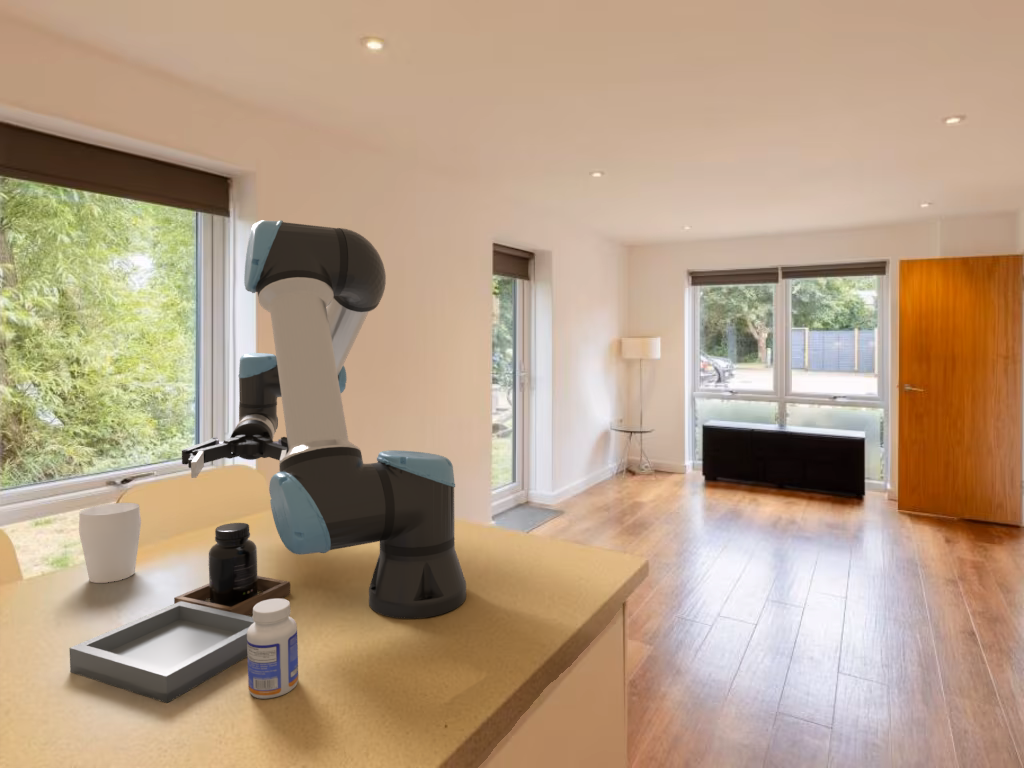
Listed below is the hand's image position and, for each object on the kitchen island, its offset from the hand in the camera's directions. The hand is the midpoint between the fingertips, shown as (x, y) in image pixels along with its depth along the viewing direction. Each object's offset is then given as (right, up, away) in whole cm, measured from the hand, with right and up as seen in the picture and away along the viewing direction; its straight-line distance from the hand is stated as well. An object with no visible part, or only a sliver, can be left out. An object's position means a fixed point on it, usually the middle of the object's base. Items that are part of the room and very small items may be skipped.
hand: (238, 468), depth 100 cm
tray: (+3, -21, -24) cm, 32 cm away
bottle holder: (+3, -20, -7) cm, 21 cm away
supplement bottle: (+3, -20, -7) cm, 21 cm away
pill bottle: (+18, -21, -31) cm, 42 cm away
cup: (-24, -20, +4) cm, 31 cm away
